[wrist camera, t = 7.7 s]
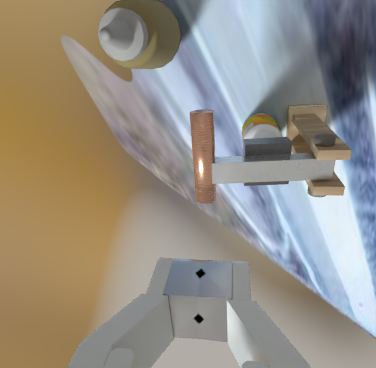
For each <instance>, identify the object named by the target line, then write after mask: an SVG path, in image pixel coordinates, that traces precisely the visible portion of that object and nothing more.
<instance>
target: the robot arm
mask: <svg viewBox="0 0 376 368" xmlns="http://www.w3.org/2000/svg"><path fill="white" fill-rule="evenodd" d="M174 337H176V338H193V339H206V340H215V341H223V342H228V345H229V347H230V349H231V350H232V352H233V354H234V356H235V358H236V360H237V362H238V364H239V365H240V368H310V365H309V364H308V363H307V361H306V360H305V359H304V358H303V357H302V356H301V354H300V353H299V352H298V351H297V350H296V348H295V347H294V346H293V345H292V344H291V343H290V342H289V340H288V339H287V338H286V336H285V335H284V334H283V333H282V332H281V330H280V329H279V328H278V327H277V326H276V324H275V323H274V322H273V321H272V320H271V318H270V317H269V316H268V315H267V314H266V313H265V311H264V310H263V309H262V308H261V307H260V305H259V304H258V303H257V302H256V301H251V289H250V272H249V262H248V261H212V260H211V261H210V260H193V259H178V258H177V259H176V258H175V259H173V258H159V260H158V261H157V264H156V267H155V270H154V272H153V275H152V278H151V281H150V284H149V287H148V289H147V292H146V294H141V295H139V296H138V297H137V298H136V299H134V300H133V301H132V302H131V303H129V304H128V305H127V306H126V307H124V308H123V309H122V310H121V311H120V312H118V313H117V314H116V315H114V316H113V317H112V318H111V319H109V320H108V321H107V322H106V323H104V324H103V325H102V326H100V327H99V328H98V329H97V330H95V331H94V332H93V333H92V334H90V335H89V336H88V337H87V338H86V339H84V340H83V341H82V342H80V344H79V346H78V348H77V350H76V352H75V354H74V355H73V358H72V360H71V361H70V363H69V365H68V367H67V368H151V367H152V366H153V364H154V363H155V362H156V361H157V359H158V358H159V357H160V356H161V354H162V353H163V352H164V351H165V350H166V348H167V347H168V346H169V345H170V343H171V342H172V341H173V340H174Z"/></svg>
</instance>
